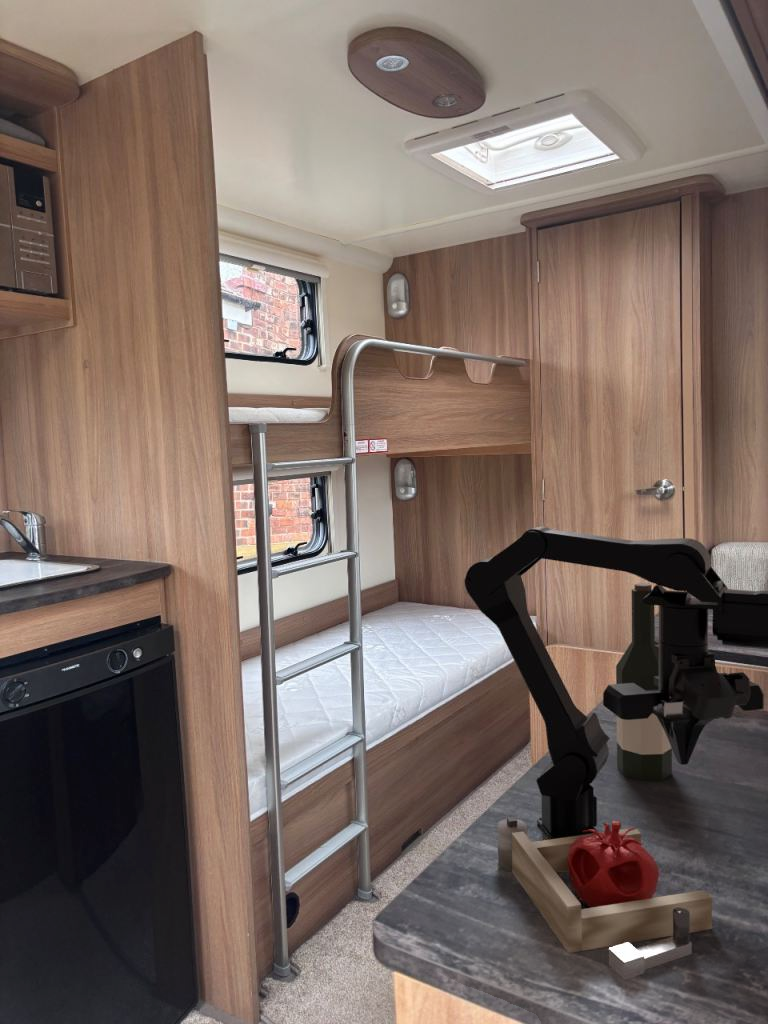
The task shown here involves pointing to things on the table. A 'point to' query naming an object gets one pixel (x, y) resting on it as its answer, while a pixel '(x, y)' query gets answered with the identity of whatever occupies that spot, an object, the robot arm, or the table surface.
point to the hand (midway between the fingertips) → (682, 763)
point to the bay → (563, 910)
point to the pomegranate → (611, 868)
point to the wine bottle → (645, 739)
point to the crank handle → (653, 949)
